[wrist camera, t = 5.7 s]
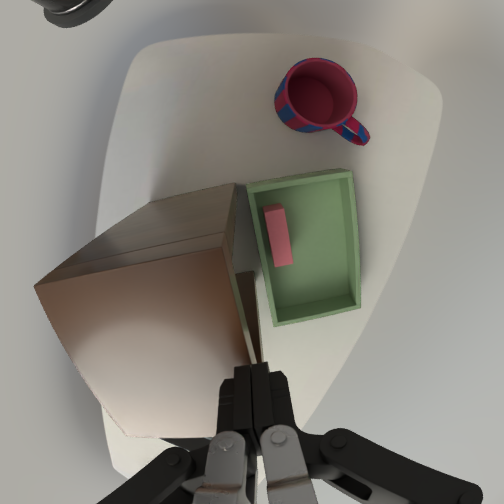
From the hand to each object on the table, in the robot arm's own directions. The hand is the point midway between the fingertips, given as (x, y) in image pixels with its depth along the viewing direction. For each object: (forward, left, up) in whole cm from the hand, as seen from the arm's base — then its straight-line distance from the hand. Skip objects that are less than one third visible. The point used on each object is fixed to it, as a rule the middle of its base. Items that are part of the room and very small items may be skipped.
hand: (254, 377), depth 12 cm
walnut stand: (0, -5, -22) cm, 22 cm away
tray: (+2, +6, -22) cm, 23 cm away
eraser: (0, +4, -20) cm, 20 cm away
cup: (-12, +10, -22) cm, 27 cm away
